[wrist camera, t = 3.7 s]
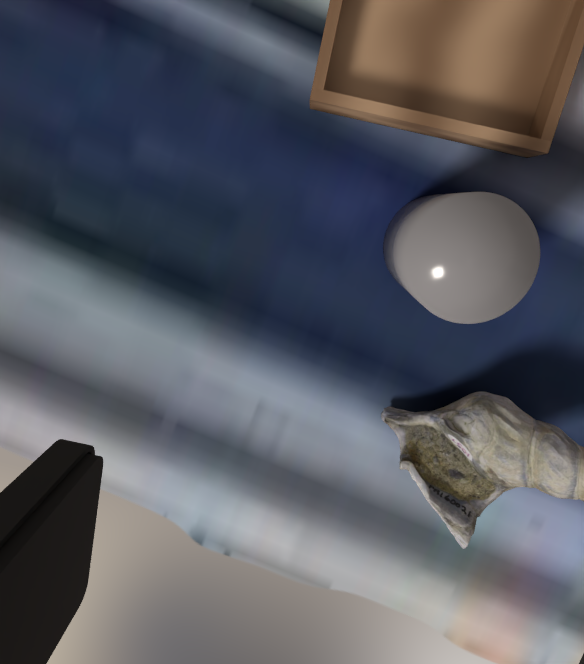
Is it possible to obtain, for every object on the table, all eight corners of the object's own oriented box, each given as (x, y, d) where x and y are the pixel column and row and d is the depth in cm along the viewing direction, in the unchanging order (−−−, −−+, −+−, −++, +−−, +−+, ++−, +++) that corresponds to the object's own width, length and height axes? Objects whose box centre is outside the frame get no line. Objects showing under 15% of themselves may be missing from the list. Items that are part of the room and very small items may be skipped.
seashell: (409, 346, 37) (443, 397, 27) (609, 428, 38) (712, 505, 28) (354, 456, 39) (368, 539, 30) (543, 531, 40) (617, 635, 31)
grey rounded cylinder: (496, 206, 34) (559, 208, 25) (466, 303, 36) (515, 335, 27) (397, 184, 34) (427, 178, 25) (372, 283, 36) (391, 308, 27)
